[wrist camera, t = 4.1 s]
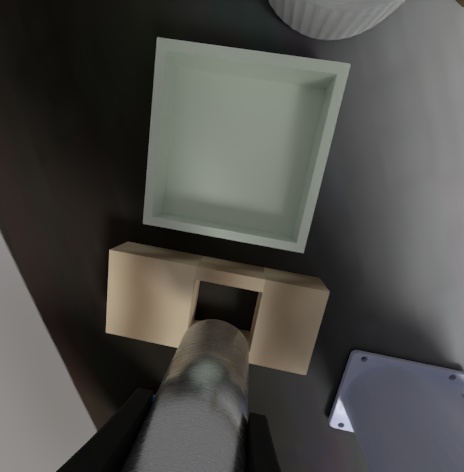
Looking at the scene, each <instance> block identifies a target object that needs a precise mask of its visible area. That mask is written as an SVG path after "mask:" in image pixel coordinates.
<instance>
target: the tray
mask: <svg viewBox="0 0 464 472" xmlns="http://www.w3.org/2000/svg"><path fill="white" fill-rule="evenodd" d="M350 65H351V64H349V63H342V62H335V61H328V60H320V59H313V58H306V57H298V56H291V55H284V54H276V53H269V52H262V51H255V50H247V49H240V48H233V47H225V46H218V45H211V44H204V43H196V42H189V41H182V40H174V39H167V38H160V37H157V44H156V57H155V70H154V83H153V96H152V109H151V122H150V135H149V148H148V161H147V174H146V188H145V201H144V214H143V224H147V225H152V226H158V227H163V228H169V229H174V230H179V231H185V232H190V233H196V234H201V235H207V236H212V237H217V238H223V239H228V240H234V241H239V242H245V243H250V244H255V245H261V246H266V247H272V248H277V249H283V250H288V251H294V252H299V253H304V250H305V246H306V242H307V238H308V234H309V230H310V226H311V222H312V218H313V214H314V210H315V206H316V202H317V198H318V194H319V190H320V186H321V182H322V178H323V174H324V170H325V166H326V162H327V158H328V154H329V150H330V146H331V142H332V138H333V134H334V130H335V125H336V121H337V117H338V113H339V109H340V105H341V101H342V97H343V93H344V89H345V85H346V81H347V77H348V73H349V69H350Z"/></svg>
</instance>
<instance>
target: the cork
mask: <svg viewBox="0 0 464 472" xmlns="http://www.w3.org/2000/svg"><path fill="white" fill-rule="evenodd" d="M456 1H457V2H458V3H459V4H460V5H461V6H463V7H464V0H456Z"/></svg>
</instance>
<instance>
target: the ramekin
mask: <svg viewBox="0 0 464 472" xmlns="http://www.w3.org/2000/svg"><path fill="white" fill-rule="evenodd" d="M268 1H269V4H270V5H271V7H272V8H273V9H274V11H275V13H276V14H277V15H278V16H279V17H280V18H281V19H282V21H283V22H284V23H286V24H287V25H289V26H290V27H291V28H292V29H293V30H296V31H298V32H299V33H300V34H303V35H306V36H307V37H310V38H314V39H318V40H328V41H329V40H340V39H343V38H350V37H352V36H354V35H358V34H361V33H362V32H364V31H366V30H368V29H371V28H372V27H374V26H375V25H376V24H378V23H380V22H381V21H383V20H384V19H385V18H386V17H387V16H389V15H390V14H391V13H392V12H394V11H395V10H396V9H397V8H398V7H399V6H400V5H401V4H402V3H403V2H405V1H406V0H268Z"/></svg>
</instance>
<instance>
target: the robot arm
mask: <svg viewBox="0 0 464 472" xmlns="http://www.w3.org/2000/svg"><path fill="white" fill-rule="evenodd" d="M362 357H365V358H363V359H361V358H362ZM450 375H451V376H450ZM152 400H153V390H148V389H144V388H138V389H136V391H135V392H134V393H133V394H132V395H131V396H130V398H129V399H128V400H127V401H126V402H125V403H124V404H123V405H122V406H121V408H120V409H119V410H118V411H117V412H116V413H115V414H114V415H113V416H112V417H111V418H110V419H109V420H108V421H107V422H106V424H105V425H104V426H103V427H102V428H101V429H100V430H99V431H98V432H97V433H96V434H95V435H94V436H93V437H92V438H91V439H90V440H89V441H88V442H87V443H86V444H85V445H84V446H83V447H82V448H81V449H80V450H78V452H76V453H75V454H74V455H73V456H72V457H71V458H70V459H69V460H68V461H67V462H66V463H65V464H64V465H63V466H62V467H61V468H60V469H58V470H57V471H56V472H120V471H121V469H122V466H123V464H124V462H125V460H126V458H127V456H128V454H129V451H130V449H131V447H132V445H133V443H134V441H135V439H136V436H137V434H138V432H139V430H140V428H141V426H142V424H143V421H144V419H145V417H146V415H147V413H148V411H149V409H150V406H151V404H152ZM328 421H329V424H330V426H331V427H333V428H337V429H342V430H346V431H351V432H354V433H355V435H356V438H357V440H358V443H359V445H360V448H361V450H362V452H363V455H364V457H365V460H366V462H367V465H368V467H369V470H370V472H464V372H463V371H458V370H453V369H449V368H444V367H439V366H434V365H429V364H424V363H419V362H414V361H409V360H405V359H400V358H395V357H390V356H385V355H380V354H375V353H370V352H365V351H361V350H354V351H352V352H351V353H350V356H349V359H348V362H347V365H346V368H345V371H344V374H343V377H342V380H341V383H340V386H339V389H338V392H337V395H336V398H335V401H334V404H333V407H332V410H331V413H330V416H329V419H328ZM246 472H281V470H280V466H279V463H278V460H277V456H276V453H275V449H274V446H273V442H272V438H271V434H270V430H269V426H268V421H267V418H266V416H264V415H260V414H255V413H251V412H250V415H249V419H248V423H247V446H246Z"/></svg>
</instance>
